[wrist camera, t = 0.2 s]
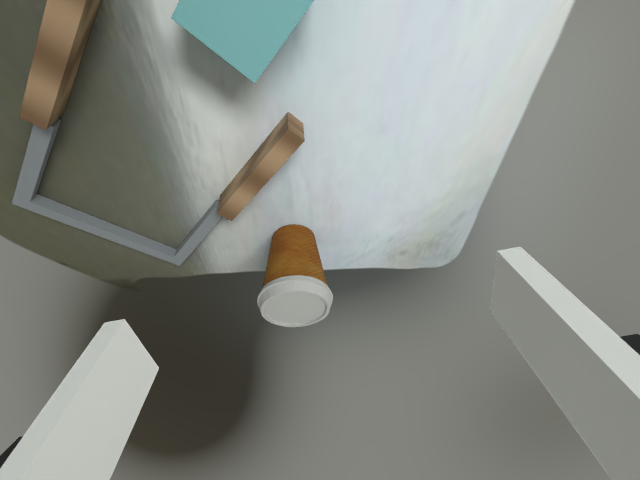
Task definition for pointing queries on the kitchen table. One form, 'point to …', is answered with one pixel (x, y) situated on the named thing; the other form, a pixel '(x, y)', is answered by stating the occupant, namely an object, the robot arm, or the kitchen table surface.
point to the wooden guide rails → (59, 74)
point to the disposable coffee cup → (294, 280)
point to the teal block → (242, 28)
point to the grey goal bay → (36, 203)
